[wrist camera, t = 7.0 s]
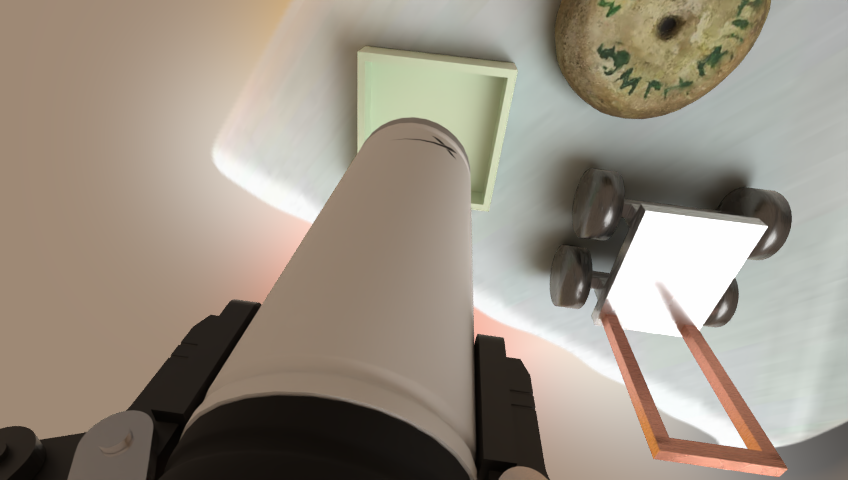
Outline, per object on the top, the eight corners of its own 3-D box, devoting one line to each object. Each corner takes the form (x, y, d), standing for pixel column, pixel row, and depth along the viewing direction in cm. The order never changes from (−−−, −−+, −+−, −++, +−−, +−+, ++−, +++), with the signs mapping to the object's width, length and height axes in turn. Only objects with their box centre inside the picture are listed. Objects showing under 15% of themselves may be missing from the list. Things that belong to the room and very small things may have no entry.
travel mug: (446, 91, 20) (345, 661, 3) (484, 204, 23) (532, 788, 6) (336, 132, 22) (-110, 652, 5) (385, 232, 25) (217, 757, 8)
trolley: (587, 157, 36) (685, 310, 19) (759, 178, 35) (1007, 353, 19) (546, 279, 44) (592, 462, 27) (687, 298, 43) (819, 496, 27)
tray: (366, 45, 33) (357, 51, 30) (514, 62, 32) (517, 70, 30) (364, 180, 39) (357, 194, 37) (487, 196, 39) (488, 211, 36)
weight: (537, 105, 34) (546, 123, 30) (574, -101, 27) (593, -116, 23) (704, 114, 33) (737, 134, 29) (790, -97, 26) (851, -111, 22)
